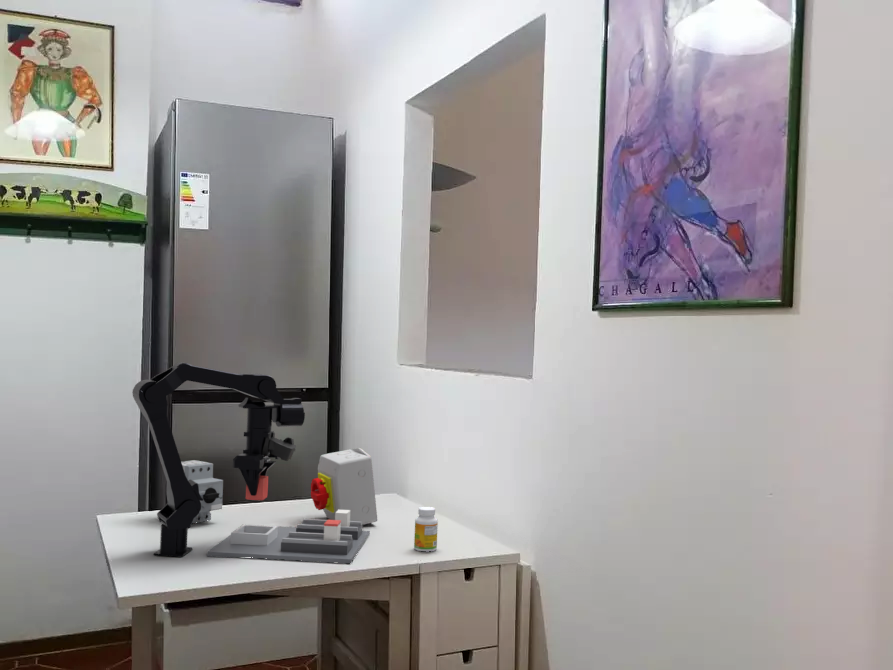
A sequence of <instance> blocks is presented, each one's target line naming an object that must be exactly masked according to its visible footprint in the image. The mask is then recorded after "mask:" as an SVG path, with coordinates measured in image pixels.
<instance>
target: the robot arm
mask: <svg viewBox="0 0 893 670" xmlns="http://www.w3.org/2000/svg"><path fill="white" fill-rule="evenodd" d="M188 381H189V382H194V383H199V384H203V385H209V386H210V385H211V386H216V387H220V388H227V389H232V390H234V391H237V392H239V393H241V394H244V395H247V396H250V397H252V398H256V399H259V400H252V399H251V398H249V397H245V398H244V400H243V401H242V402H240V403H239V404H238V407H239V408H241V409H247V411H246V413H247V414H246V415H247V416H246V431H244V432H243V437H246V438H245V448H244V449H243V450H242V453H240V454H237V455H236V456H235V457H234V458H233V459H232V468H233V469H238V470H239V471H240V473H241V476H242V478H243V479H244V482H245V484H247V487H248V489H249V491H250V494H251V495H252V496H255V495H256V493H257V489H258V484H259V478H260V476H268V472H269V469H270V468H272V467H273V466H274V465H275V464H276V463H277V462H276V461H275V460H280V459H281V460H283V461H286V462H288V461H289V460H291V459H292V457H293V454H294V452H296V445H295V442H294V438H292V437H290V436H287V437H286V438H284V439H281V438H280V439H279V438H277V437H276V436H275V435H276V433H275V430H273V429H272V423H274V424H275V425H276V427H278V428H280V427H281V428H282V427H283V428H285V427H302V426H303V425H304V423H305V418H306V417H305V416H306V413H305V409H304V405H303V404H302V398H299V397H292V398H283V396H282V394H281V393H280V391H279V390H278V389H277V383H276V380H275V379H274V377H273V376H272V375H269V374H265V373H264V374H263V373H257V372H256V373H251V372H249V373H248V372H247V373H246V372H244V373H241V372H240V373H239V372H238V373H237V372H236V373H235V372H234V373H233V372H229V371H223V370H220V369H219V370H218V369H214V368H208V367H203V366H198V365H194V364H190V363H188V362H184V361H183V362H182V361H181V362H176V363H175V364H174V365H173V366H171V367H169V368H168V369H166V370H164V371H162V372H160V373H159V374H156V375H155V376H153V377H152V378H150V379H142V380H140V381H138V382H137V383H136V384H135V385H134V387H133V389H132V397H133V400H134V401H135V403H136V405H137V407H138V409H139V411H140V412H141V414H142V415H143V417H144V418H145V420H146V422H147V424H148V426H149V430H150V433H151V436H152V440H153V442H154V445H155V448H156V452H157V455H158V458H159V461H160V464H161V467H162V471H163V474H164V477H165V480H166V489H165V492H166V494H165V495H166V500H167V503H166V504H165V505H164V506H163V507H162V508H161V509H160V510H159V511H158V512H157V513H156V515H157V518H158V521H159V523H161V525H160V539H159V540H160V541H159V543H160V544H159V549H158V550H157V551H154V552H153V555H154V556H161V557H176V558H177V557H179V558H181V557H184V556H186V555H187V554H188V553H190V552H191V551H192V550H193V547H191V546H189V547H188V533H189V529H190V528H191V527H192V525H193V524H192V521H193V519H194V518H195V517H196V516H197V515H198V514H199V512H200V510H201V502H200V501H203V499H202V498H201V496H200V494H199V487H198V484H197V483H196V482H194V481H192V480H191V479H190V480H188V479H187V478H186V476H185V472H184V469H183V466H182V463H181V462H182V460H181V458H180V453H179V451H178V448H177V444H176V441H175V437H174V434H173V432H172V429H171V425H170V422H169V417H168V413H169V412H168V408H169V404H168V396H169V395H170V394H172V393H174V392H175V391H176V389H179V387H180V386H181V385H183V384H184V383H185V382H188ZM260 399H261V400H260ZM264 401H265V402H268V403H272V404H266V403H265V402H264ZM271 458H275V460H271Z"/></svg>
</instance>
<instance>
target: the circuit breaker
mask: <svg viewBox="0 0 893 670" xmlns="http://www.w3.org/2000/svg"><path fill="white" fill-rule="evenodd" d="M181 463H182V466H183V469H184V472H185V476H186V478H187V479H188V480H190V479H191V480H192V481H194V482H196V483H197V484H198V487H199V494H200V496H201V498H202V499H203V501H200V502H201V510H200V512H199V514H198V515H197V516H196V517H195V518H194V519H193V521H192V523H195V524H197V523H196V522H201V523H203V522H202V521H206V522H208V521H207V520H211V521H212V513H211V512H212V511H217V510H218V511H219V510H223V495H224V493H223V492H224V491H223V490H224V479H220V478H214V463H212V462H207V461H202V460H201V461H200V460H195V459H193V460H184V461H181Z"/></svg>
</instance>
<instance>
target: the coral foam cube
mask: <svg viewBox="0 0 893 670" xmlns="http://www.w3.org/2000/svg"><path fill="white" fill-rule="evenodd" d="M245 484H246V483H245ZM268 490H269V475H266V476H260V478H259V484H258V489H257V493H256V495H255V496H252V495H251V494H250V491H249V489H248V487H247V484H246V486H245V500H252V501H253V500H254V501H264V500H265V499H266V498H268V493H269V492H268Z"/></svg>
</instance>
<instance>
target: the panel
mask: <svg viewBox="0 0 893 670" xmlns="http://www.w3.org/2000/svg"><path fill="white" fill-rule="evenodd" d="M327 520H328V519H314V518H303V520H302V522H301V523H297V525H296V526H279V525H277V526H276V525H264V524H263V525H260V524H241V525H240V526H239V527H237V528H235V529H234V530H232V531H231V532H230V535H228V536H227V537H225V538H224V539H223V540H221V541H220V542H218V543H217V544H216V545H214V546H213V547H211V548H210V549H209V550H208V551H207V552H206V556H207V557H213V556H217V558H219V557H220V558H231V557H251V558H252V557H253V558H267V559H266V560H268V559H285V560H284V561H286V560H302V561H301V562H305V561H313V562H312V563H316V562H315V561H319V562H318V563H323V562H338V563H337V564H341V563H351V562H352V563H353V561H354V560H355V558H356V557H357V555H358V554H359V552H360V551H361V549H362V547H363V546H364V544H365V543H366V541H367V539H368V538H369V537H370V534H371V533H370V532H371V531H370V530H363V526H364V525H362V522H356V521H350V526H349V527H344V526H341V529H340V540H339V541H333V540H324V523H325V522H326V521H327ZM359 550H360V551H359ZM358 551H359V552H358ZM357 553H358V554H357ZM356 554H357V555H356ZM355 556H356V557H355ZM354 557H355V558H354ZM353 559H354V560H353ZM352 560H353V561H352ZM320 561H321V562H320ZM352 563H351V564H352Z"/></svg>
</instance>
